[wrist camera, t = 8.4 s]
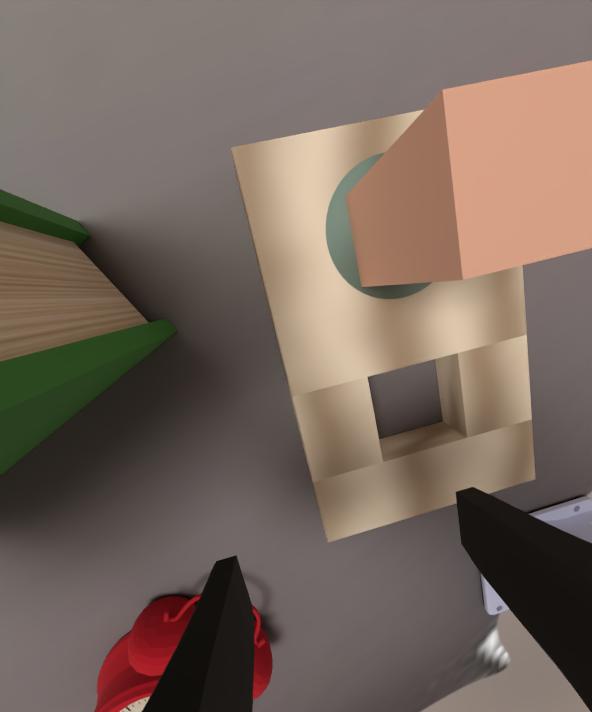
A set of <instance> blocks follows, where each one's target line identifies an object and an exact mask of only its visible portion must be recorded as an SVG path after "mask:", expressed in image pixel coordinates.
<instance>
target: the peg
mask: <svg viewBox="0 0 592 712" xmlns="http://www.w3.org/2000/svg"><path fill="white" fill-rule="evenodd" d="M345 199H346V204H347V210H348V215H349V221H350V226H351V232H352V237H353V243H354V248H355V254H356V259H357V265H358V270H359V276H360V282H361V287H370V286H384V285H399V284H413V283H427V282H441V281H455V280H465V279H469V278H473V277H477V276H481V275H485V274H489V273H493V272H497V271H501V270H505V269H509V268H513V267H517V266H521V265H525V264H529V263H533V262H537V261H541V260H545V259H549V258H553V257H557V256H561V255H565V254H569V253H573V252H577V251H581V250H585V249H589V248H592V61H587V62H582V63H577V64H572V65H566V66H561V67H556V68H551V69H546V70H541V71H536V72H531V73H526V74H521V75H516V76H511V77H505V78H500V79H495V80H490V81H485V82H480V83H475V84H470V85H465V86H460V87H455V88H449V89H444V90H442V91H441V92H440V93H439V94H438V95H437V97H436V98H435V99H434V100H433V101H432V102H431V103H430V104H429V105H428V106H427V107H426V109H425V110H424V111H423V112H422V113H421V114H420V115H419V116H418V117H417V118H416V120H415V121H414V122H413V123H412V124H411V125H410V126H409V127H408V128H407V129H406V131H405V132H404V133H403V134H402V135H401V136H400V137H399V138H398V139H397V140H396V141H395V143H394V144H393V145H392V146H391V147H390V148H389V149H388V150H387V151H386V152H385V154H384V155H383V156H382V157H381V158H380V159H379V160H378V161H377V162H376V163H375V165H374V166H373V167H372V168H371V169H370V170H369V171H368V172H367V173H366V174H365V175H364V177H363V178H362V179H361V180H360V181H359V182H358V183H357V184H356V185H355V186H354V188H353V189H352V190H351V191H350V192H349V193H348V194H347V195H346V196H345Z"/></svg>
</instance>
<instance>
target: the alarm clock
mask: <svg viewBox="0 0 592 712" xmlns="http://www.w3.org/2000/svg"><path fill="white" fill-rule="evenodd" d="M200 596H201V594H200V595H197V596H195V597H193V598H192V599H191V600H188V599H187V598H185V597H181V596H168V597H164V598H161V599H158V600H156V601H154V602H153V603H151V604H150V605H149V606H147V607H146V608H145V609H144V610H143V611H142V613H141V614H140V615H139V617H138V618H137V620H136V621H135V623H134V625H133V628H132V631H131V632H129V633H128V634H127V635H125V636H124V637H123V638H122V639H121V640H119V641H118V642H117V643H116V644H115V646H114V647H113V648H112V649H111V651H110V652H109V654H108V655H107V657H106V659H105V661H104V663H103V666H102V668H101V671H100V673H99V677H98V683H97V693H98V699H97V706H96V709H95V711H94V712H142V710H143V708H144V707H145V705H146V703H147V701H148V700H149V698H150V696H151V694H152V692H153V691H154V689H155V687H156V685H157V683H158V681H159V679H160V677H161V676H162V674H163V672H164V670H165V668H166V666H167V664H168V662H169V660H170V658H171V657H172V655H173V653H174V651H175V649H176V647H177V645H178V643H179V641H180V639H181V637H182V635H183V633H184V630H185V628H186V626H187V624H188V622H189V620H190V618H191V616H192V614H193V612H194V610H195V607H196V606H195V604H194V602H195V601H197V600H199V599H200ZM252 607H253V613H254V614H255V616H256V619H257V622H256V621H255V620H254V619H253V622H254V645H255V657H254V682H253V699H255V698H258V697H259V696H260V695H261V694H262V693H263V692H264V690H265V689H266V688H267V686H268V684H269V682H270V678H271V674H272V653H271V648H270V643H269V641H268V638H267V636H266V633H265V632H264V630H263V629H262V627H261V626H260V624H261V618H260V615H259V612H258V611H257V609H256V608H255V607H254V606H253V605H252Z"/></svg>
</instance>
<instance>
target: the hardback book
mask: <svg viewBox="0 0 592 712" xmlns="http://www.w3.org/2000/svg"><path fill="white" fill-rule="evenodd" d="M89 237H90V235H89V234H88V233H87V232H86V230H85V229H84V228H83V227H82V226H81V225H80V224H79V223H78V222H77V221H76V220H73V219H71V218H69V217H66V216H64V215H61V214H59V213H56V212H54V211H52V210H49V209H47V208H44V207H42V206H39V205H37V204H35V203H32V202H30V201H27V200H25V199H22V198H20V197H18V196H15V195H13V194H10V193H8V192H5V191H3V190H1V189H0V476H1V475H2V474H3V473H5V472H6V471H7V470H8V469H9V468H11V467H12V466H13V465H14V464H16V463H17V462H18V461H19V460H20V459H22V458H23V457H24V456H25V455H26V454H28V453H29V452H30V451H31V450H33V449H34V448H35V447H36V446H37V445H39V444H40V443H41V442H42V441H44V440H45V439H46V438H47V437H48V436H50V435H51V434H52V433H53V432H54V431H56V430H57V429H58V428H59V427H61V426H62V425H63V424H64V423H65V422H67V421H68V420H69V419H70V418H72V417H73V416H74V415H75V414H76V413H78V412H79V411H80V410H81V409H83V408H84V407H85V406H86V405H87V404H89V403H90V402H91V401H92V400H93V399H95V398H96V397H97V396H98V395H100V394H101V393H102V392H103V391H104V390H106V389H107V388H108V387H109V386H111V385H112V384H113V383H114V382H115V381H117V380H118V379H119V378H120V377H122V376H123V375H124V374H125V373H126V372H128V371H129V370H130V369H131V368H132V367H134V366H135V365H136V364H137V363H139V362H140V361H141V360H142V359H143V358H145V357H146V356H147V355H148V354H150V353H151V352H152V351H153V350H154V349H156V348H157V347H158V346H159V345H160V344H162V343H163V342H164V341H165V340H167V339H168V338H169V337H170V336H171V335H173V334H174V333H175V332H176V331H177V330H176V329H175V328H174V327H173V326H172V325H171V323H170V322H169V321H168V320H167V319H166V318H165V319H161V320H157V321H153V322H148V321H147V320H146V319H145V318H144V317H143V316H142V315H141V314H140V313H139V312H138V311H137V309H136V308H135V307H134V306H133V305H132V304H131V303H130V302H129V301H128V300H127V299H126V298H125V297H124V296H123V294H122V293H121V292H120V291H119V290H118V289H117V288H116V287H115V286H114V285H113V284H112V283H111V282H110V281H109V279H108V278H107V277H106V276H105V275H104V274H103V273H102V272H101V271H100V270H99V269H98V268H97V267H96V266H95V264H94V263H93V262H92V261H91V260H90V259H89V258H88V257H87V256H86V255H85V254H84V253H83V252H82V251H81V249H80V248H79V247H78V246H79V245H80V244H81V243H83V242H84V241H85V240H86V239H87V238H89Z"/></svg>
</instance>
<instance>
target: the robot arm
mask: <svg viewBox="0 0 592 712" xmlns="http://www.w3.org/2000/svg"><path fill="white" fill-rule="evenodd" d="M456 500H457V509H458V517H459V526H460V534H461V543H462V545H463V547H464V548H465V550H466V551H467V553H468V554H469V556H470V558H471V559H472V561H473V562H474V564H475V565H476V566H477V568H478V569H479V571H480V572H481V580H482V588H483V597H484V606H485V610H486V611H487V612H488V614H490V615H495V614H498V613H501V612H503V611H506V610H509V609H510V610H511V611H512V612H513V614H514V615H515V616H516V617H517V618H518V620H519V621H520V622H521V623H522V625H523V626H524V627H525V628H526V629H527V630H528V632H529V633H530V634H531V635H532V637H533V638H534V639H535V640H536V642H537V643H538V644H539V645H540V647H541V648H542V649H543V650H544V652H545V653H546V654H547V655H548V657H549V658H550V659H551V660H552V661H553V663H554V664H555V665H556V666H557V668H558V669H559V670H560V671H561V673H562V674H563V675H564V676H565V677H566V679H567V680H568V681H569V682H570V684H571V685H572V686H573V688H574V689H575V690H576V692H577V693H578V694H579V696H580V697H581V698H582V700H583V701H584V703H585V704H586V706H587V707H588V708H589V710H590V711H591V712H592V500H591V499H590V498H588V497H586V496H585V497H581V498H578V499H574V500H571V501H568V502H565V503H562V504H559V505H555V506H552V507H549V508H546V509H543V510H539V511H536V512H533V513H530V514H527V513H525V512H523V511H521V510H519V509H517V508H515V507H513V506H511V505H509V504H507V503H505V502H503V501H501V500H499V499H497V498H495V497H493V496H491V495H489V494H487V493H485V492H483V491H481V490H479V489H477V488H475V487H470V488H467V489H464V490H460V491H457V492H456ZM254 657H255V645H254V622H253V607H252V604H251V601H250V597H249V594H248V591H247V588H246V585H245V581H244V578H243V575H242V572H241V569H240V566H239V562H238V559H237V556H233V557H229V558H226V559H223V560H219V561H216V563H215V565H214V566H213V569H212V571H211V573H210V576H209V578H208V580H207V583H206V585H205V587H204V590H203V592H202V594H201V596H200V599H199V601H198V603H197V605H196V607H195V610H194V612H193V614H192V616H191V618H190V620H189V622H188V624H187V626H186V628H185V630H184V633H183V635H182V637H181V639H180V641H179V643H178V645H177V647H176V649H175V651H174V653H173V655H172V657H171V658H170V660H169V662H168V664H167V666H166V668H165V670H164V672H163V674H162V676H161V677H160V679H159V681H158V683H157V685H156V687H155V689H154V691H153V692H152V694H151V696H150V698H149V700H148V701H147V703H146V705H145V707H144V708H143V710H142V712H252V705H253V682H254Z"/></svg>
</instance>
